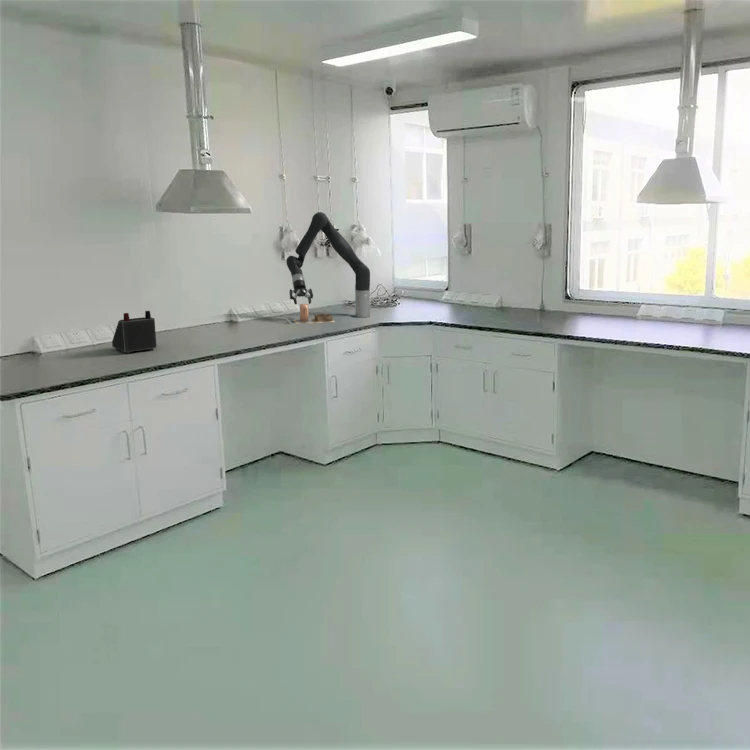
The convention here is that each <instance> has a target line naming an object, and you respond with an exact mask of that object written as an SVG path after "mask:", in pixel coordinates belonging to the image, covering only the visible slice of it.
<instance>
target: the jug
mask: <svg viewBox="0 0 750 750" xmlns="http://www.w3.org/2000/svg"><path fill="white" fill-rule="evenodd" d="M309 314H310V313H309V303H300V304H299V319H300V321H309V319H310V318H309V317H310V316H309Z"/></svg>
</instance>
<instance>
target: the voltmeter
mask: <svg viewBox="0 0 750 750" xmlns="http://www.w3.org/2000/svg"><path fill="white" fill-rule="evenodd" d="M151 316H152V315H151V310H145V314H144V317H137V318H136V317H135V318H130V315H129V312H124V313H123V319H120V320H118V322H117V325H116V328H115V331H114V335H113V338H112V341H111V347H112V348H114V349H115V350H116V351H121V352H124V353H125V354H126V355H130V354H131V352H135V351H144V350H148V351H149V352H152V351H154V349H157V346H158V345H157V334H156V321H155V318H154V317H151Z"/></svg>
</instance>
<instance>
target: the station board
mask: <svg viewBox="0 0 750 750" xmlns="http://www.w3.org/2000/svg"><path fill="white" fill-rule="evenodd" d="M292 321H294V323H295V324H297V325H298V324H317V323H319V324H320V323H322V324H323V323H336V321H335V320H334V319H333V316H332V315H331V314H329V313H324V314H323V313H322V314H314V317H313V318H309V321H300V318H299V319H293V320H292Z"/></svg>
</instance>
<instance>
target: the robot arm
mask: <svg viewBox="0 0 750 750" xmlns="http://www.w3.org/2000/svg"><path fill="white" fill-rule="evenodd" d="M320 231H321V232H323V233H324V235H325V237H326V238H327V240H328V242H329V244H330V245H331V247H332V248H333V250H334V251H335V252H336V253H337V254H338V255H339V256H340V257H341V258H342V259H343V260H344V262H346V263H347V264H348V266H350V268H351V270H352V271H353V273H354V274H355V283H354V284H355V285H354V286H355V287H354V288H355V289H354V290H355V291H354V293H355V294H354V296H355V297H354V305H355V306H354V307H355V309H354V311H355V312H354V313H355V314H354V315H355V316H354V317H355V318H356V317H357V318H371V301H370V294H371V293H370V286H371V272H370V268H369V267H368V266H367V265H366V264H365V263H364V262H363V261H361V259H360V258H359V257H358V255H356V252H355V251H354V249H353V248H352V246H351V244H349V242H348V241H347V240H346V239H345V237H343V235H342V234H341V233H340V232H339V231H338V229H336V228H335V227H334V224H332V222H331V221H330V219H329V217H328V216H327V215H326V214H325V213H324V212H322V211H317V212H316V213H315V214H313V216H312V218H311V222H310V224H309V226H308V229H307V230H306V232H305V234H304V235H303V237H302V239H301V240H300V242H299V243H298V245H297V246H296V248H295V253H296V254H297V255H298V257H297V256H294V255H289V256H288V257H287V258H286V266H287V268H288V270H289V272H290V275H291V281H292V286H293V290H292V289H291V288H290V289H289V291H288V292H289V299H290V300H292V301H293V304H294V305H297V304H298V301H297V298H298V297H299V298H301V297H302V298H303V297H305V298H306V299H307V301H308V305H310V304H312V299H313V298H314V293H313V290H312V288H309V289H307V287H306V286H307V285H306V282H305V277H304V274H303V270H302V269H301V268H302V267H303V265H304V261H305V258H306V255H307V254H308V252H309V250H310V248H311V247H312V244H313V242H314V240H315V238H316V236H317V235H318V234H319V232H320ZM293 294H294V295H293Z"/></svg>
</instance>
